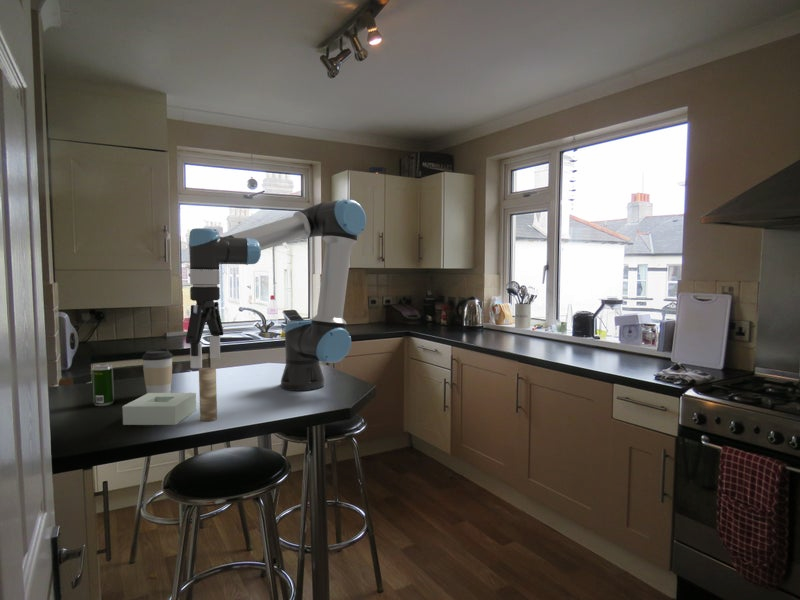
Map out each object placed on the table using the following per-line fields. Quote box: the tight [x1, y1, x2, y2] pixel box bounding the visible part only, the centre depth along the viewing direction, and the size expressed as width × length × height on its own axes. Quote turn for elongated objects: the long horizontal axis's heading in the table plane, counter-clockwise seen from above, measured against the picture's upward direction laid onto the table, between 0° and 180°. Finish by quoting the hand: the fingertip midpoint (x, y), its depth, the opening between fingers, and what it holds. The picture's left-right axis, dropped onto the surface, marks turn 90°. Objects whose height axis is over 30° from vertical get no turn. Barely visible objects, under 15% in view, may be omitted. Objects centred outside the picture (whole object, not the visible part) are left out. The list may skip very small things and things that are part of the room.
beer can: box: [91, 363, 115, 407], centre depth 155 cm, size 5×5×12 cm
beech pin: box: [198, 367, 218, 423], centre depth 140 cm, size 4×4×14 cm
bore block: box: [121, 392, 197, 426], centre depth 142 cm, size 14×14×5 cm
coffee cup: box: [141, 347, 173, 394], centre depth 164 cm, size 9×9×15 cm
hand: (206, 363), depth 139 cm, fingers open, 13 cm apart
